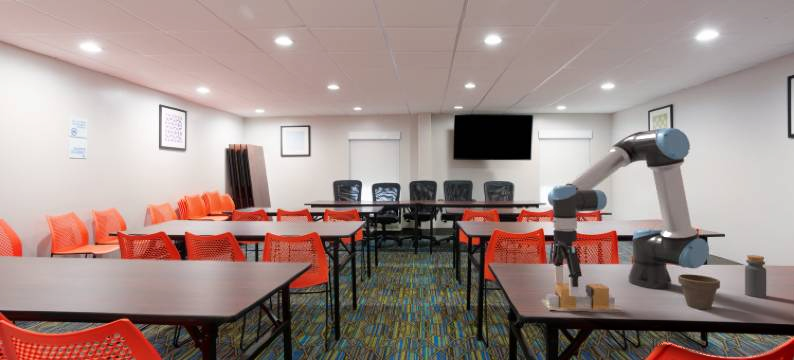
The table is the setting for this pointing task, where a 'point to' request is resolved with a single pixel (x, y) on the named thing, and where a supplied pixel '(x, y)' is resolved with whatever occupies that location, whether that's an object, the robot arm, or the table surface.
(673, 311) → the table surface
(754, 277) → the bottle
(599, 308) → the rail
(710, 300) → the flower pot
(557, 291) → the orange cube
